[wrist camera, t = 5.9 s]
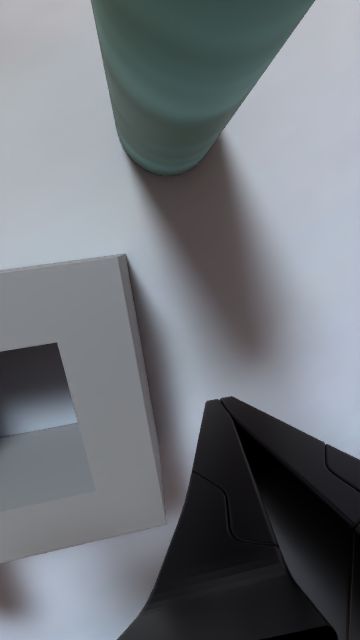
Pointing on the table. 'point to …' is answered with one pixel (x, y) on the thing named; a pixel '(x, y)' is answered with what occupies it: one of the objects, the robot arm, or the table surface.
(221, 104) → the dowel
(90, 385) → the socket block
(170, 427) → the table surface
